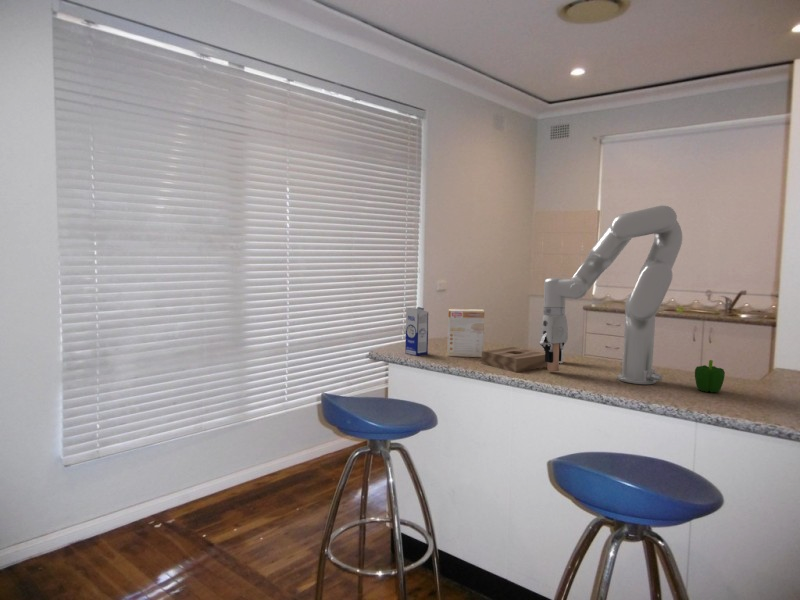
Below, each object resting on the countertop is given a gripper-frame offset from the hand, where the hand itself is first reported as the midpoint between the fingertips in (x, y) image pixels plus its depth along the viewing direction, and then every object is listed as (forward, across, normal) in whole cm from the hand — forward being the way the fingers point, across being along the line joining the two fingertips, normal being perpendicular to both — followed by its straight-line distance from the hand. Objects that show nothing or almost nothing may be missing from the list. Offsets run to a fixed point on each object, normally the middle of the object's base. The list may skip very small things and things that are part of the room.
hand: (553, 360), depth 198 cm
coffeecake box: (+4, -5, +42) cm, 42 cm away
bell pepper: (+6, +23, -44) cm, 50 cm away
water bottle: (+5, +18, +13) cm, 22 cm away
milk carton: (+3, -21, +55) cm, 59 cm away
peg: (+3, 0, 0) cm, 3 cm away
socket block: (+4, -2, +17) cm, 17 cm away
